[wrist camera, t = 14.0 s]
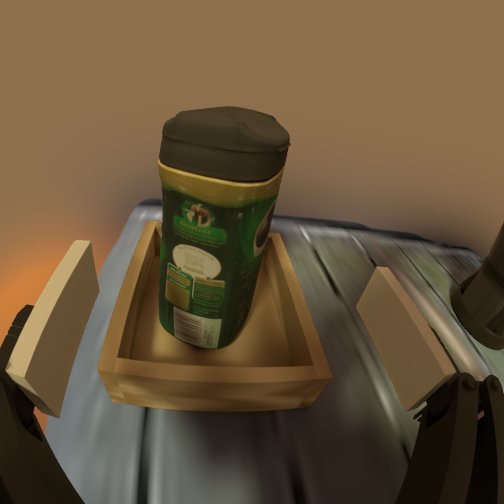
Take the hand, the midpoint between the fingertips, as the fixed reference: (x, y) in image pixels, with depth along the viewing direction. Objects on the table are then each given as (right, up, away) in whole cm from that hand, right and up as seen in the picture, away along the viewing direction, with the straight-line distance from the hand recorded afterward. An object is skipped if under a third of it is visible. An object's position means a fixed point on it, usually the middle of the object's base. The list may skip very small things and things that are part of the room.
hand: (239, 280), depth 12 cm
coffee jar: (-4, -5, +14) cm, 16 cm away
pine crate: (-4, -6, +15) cm, 16 cm away
